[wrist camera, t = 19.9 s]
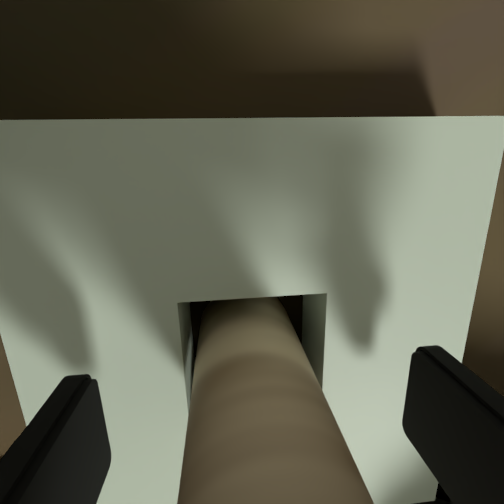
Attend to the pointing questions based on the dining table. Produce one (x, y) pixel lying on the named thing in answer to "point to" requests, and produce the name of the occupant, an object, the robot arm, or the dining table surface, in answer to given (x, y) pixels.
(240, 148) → the peg board
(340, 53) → the dining table surface
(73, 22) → the dining table surface
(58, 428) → the robot arm
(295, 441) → the peg
